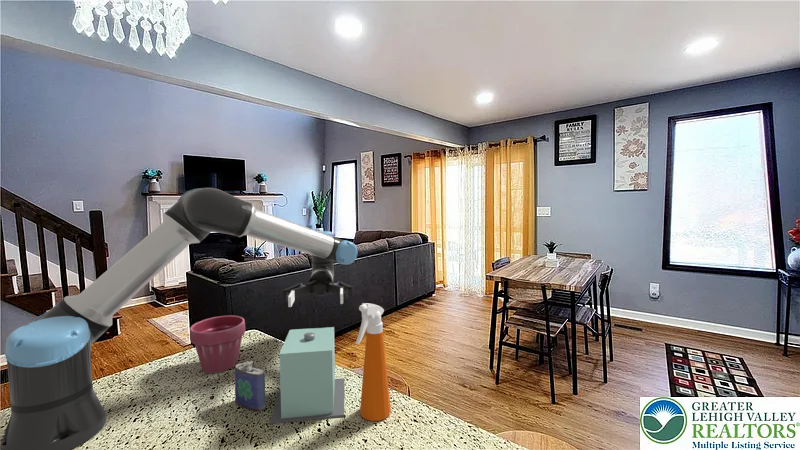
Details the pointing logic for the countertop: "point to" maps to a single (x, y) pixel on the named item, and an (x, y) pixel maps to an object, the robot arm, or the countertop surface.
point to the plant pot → (218, 342)
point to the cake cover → (307, 373)
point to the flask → (250, 387)
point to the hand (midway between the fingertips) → (315, 300)
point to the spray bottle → (374, 366)
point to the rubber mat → (337, 412)
